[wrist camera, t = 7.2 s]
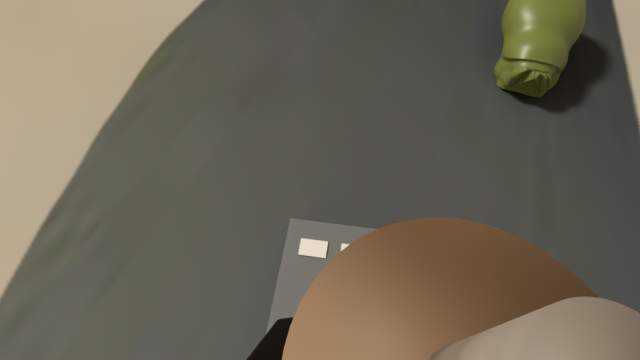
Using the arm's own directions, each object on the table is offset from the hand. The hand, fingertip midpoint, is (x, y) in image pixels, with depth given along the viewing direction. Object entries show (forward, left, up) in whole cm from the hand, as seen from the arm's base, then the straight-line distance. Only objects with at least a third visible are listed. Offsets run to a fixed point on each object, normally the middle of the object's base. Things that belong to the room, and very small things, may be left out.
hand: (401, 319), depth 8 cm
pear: (+24, -11, -13) cm, 29 cm away
